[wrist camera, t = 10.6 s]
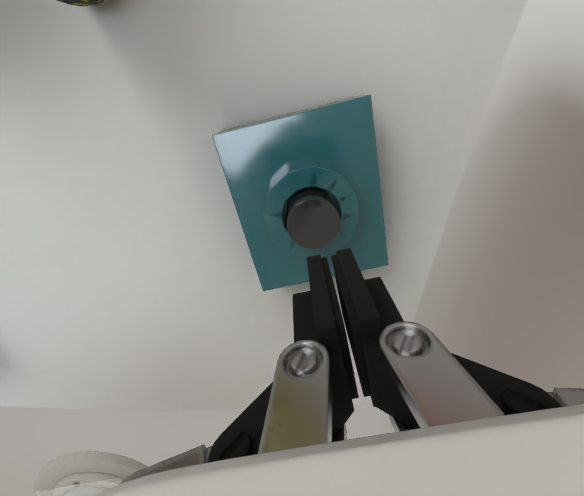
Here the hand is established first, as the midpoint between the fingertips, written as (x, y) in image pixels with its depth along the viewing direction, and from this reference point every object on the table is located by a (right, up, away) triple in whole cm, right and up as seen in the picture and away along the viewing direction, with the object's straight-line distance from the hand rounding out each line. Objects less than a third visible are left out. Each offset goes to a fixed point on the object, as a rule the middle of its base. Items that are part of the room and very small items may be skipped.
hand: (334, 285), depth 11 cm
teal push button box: (0, +6, +12) cm, 14 cm away
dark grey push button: (0, +4, +8) cm, 9 cm away
